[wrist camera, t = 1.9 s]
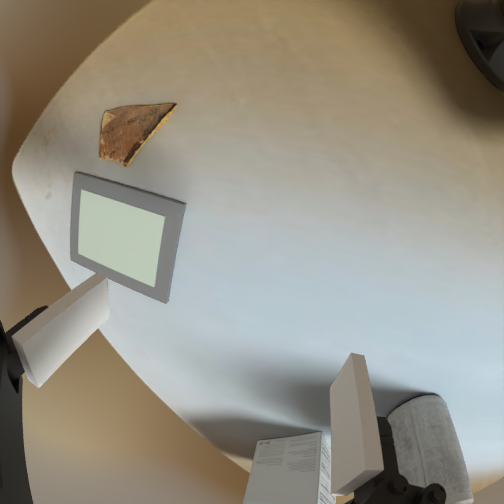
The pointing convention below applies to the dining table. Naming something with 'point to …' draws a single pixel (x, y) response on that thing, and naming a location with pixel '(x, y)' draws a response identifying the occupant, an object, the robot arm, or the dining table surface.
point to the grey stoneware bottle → (430, 447)
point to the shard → (130, 130)
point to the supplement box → (291, 471)
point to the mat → (125, 234)
